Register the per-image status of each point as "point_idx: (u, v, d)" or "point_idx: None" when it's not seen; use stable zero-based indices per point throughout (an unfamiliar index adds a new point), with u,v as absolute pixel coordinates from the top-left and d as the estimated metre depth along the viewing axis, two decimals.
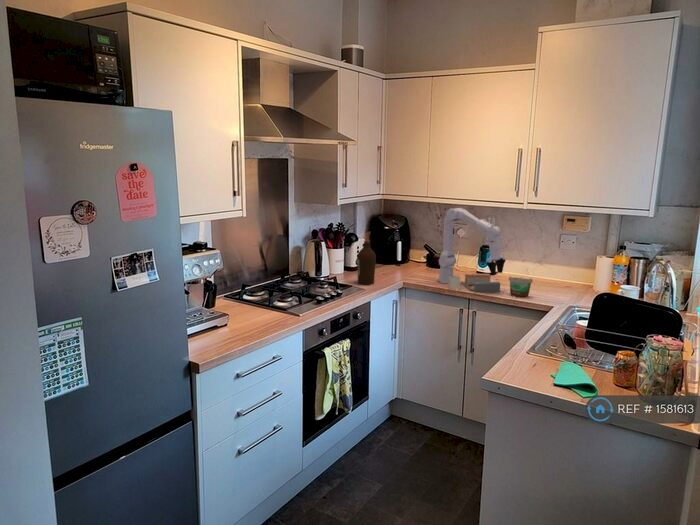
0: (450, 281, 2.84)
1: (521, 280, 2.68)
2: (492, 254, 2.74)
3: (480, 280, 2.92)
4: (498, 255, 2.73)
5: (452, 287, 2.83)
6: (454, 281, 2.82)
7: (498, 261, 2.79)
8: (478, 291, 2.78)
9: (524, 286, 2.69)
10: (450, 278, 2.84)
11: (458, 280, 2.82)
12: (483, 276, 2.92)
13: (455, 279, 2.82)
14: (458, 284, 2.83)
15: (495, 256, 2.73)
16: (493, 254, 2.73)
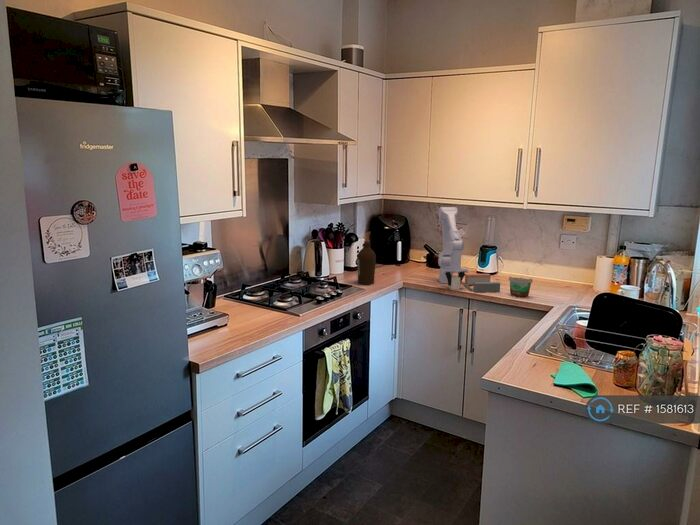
0: None
1: (521, 280, 2.68)
2: (450, 266, 2.83)
3: (480, 280, 2.92)
4: (454, 268, 2.81)
5: (452, 287, 2.83)
6: (454, 281, 2.82)
7: (459, 274, 2.85)
8: (478, 291, 2.78)
9: (524, 286, 2.69)
10: None
11: (458, 280, 2.82)
12: (483, 276, 2.92)
13: (455, 279, 2.82)
14: (458, 284, 2.83)
15: (451, 268, 2.82)
16: (450, 266, 2.82)
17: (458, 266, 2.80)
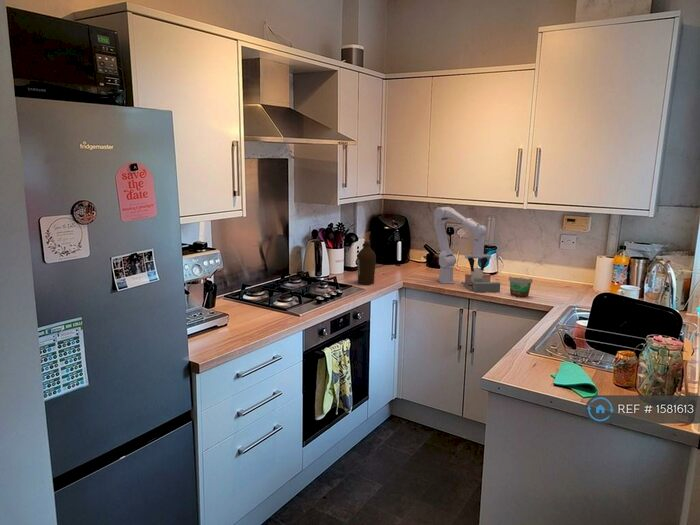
0: (473, 274, 2.84)
1: (521, 280, 2.68)
2: (473, 251, 2.83)
3: None
4: (477, 254, 2.80)
5: (475, 280, 2.83)
6: (477, 274, 2.82)
7: (482, 259, 2.84)
8: (478, 291, 2.78)
9: (524, 286, 2.69)
10: (473, 271, 2.84)
11: (481, 273, 2.82)
12: (483, 276, 2.92)
13: (478, 272, 2.82)
14: (480, 277, 2.83)
15: (474, 254, 2.81)
16: (473, 252, 2.82)
17: (481, 252, 2.80)
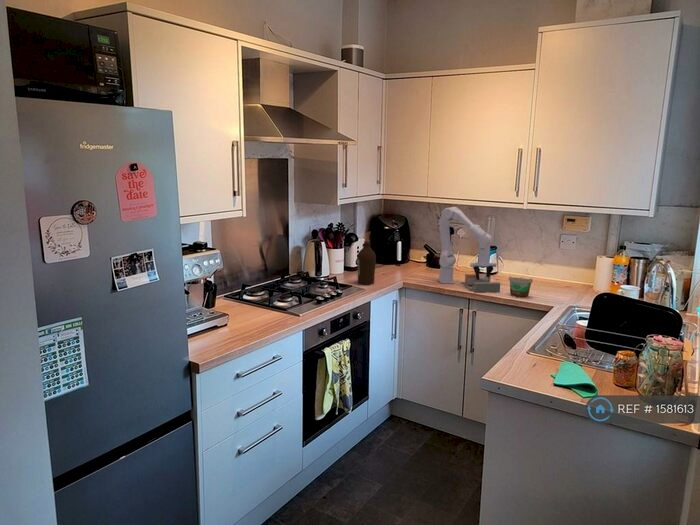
0: (478, 281, 2.86)
1: (521, 280, 2.68)
2: (478, 260, 2.84)
3: None
4: (482, 262, 2.82)
5: None
6: (482, 281, 2.84)
7: (487, 268, 2.86)
8: (478, 291, 2.78)
9: (524, 286, 2.69)
10: None
11: (486, 280, 2.84)
12: None
13: (483, 279, 2.84)
14: None
15: (480, 263, 2.83)
16: (479, 260, 2.83)
17: (487, 260, 2.81)
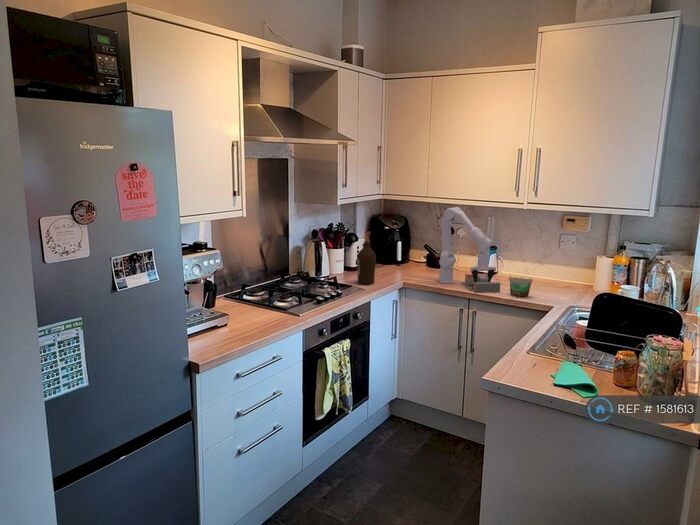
0: (478, 281, 2.86)
1: (521, 280, 2.68)
2: (478, 264, 2.84)
3: None
4: (482, 266, 2.82)
5: None
6: (482, 281, 2.84)
7: (488, 272, 2.86)
8: (478, 291, 2.78)
9: (524, 286, 2.69)
10: (478, 278, 2.86)
11: (486, 280, 2.84)
12: None
13: (483, 279, 2.84)
14: None
15: (479, 266, 2.83)
16: (478, 264, 2.84)
17: (486, 264, 2.82)
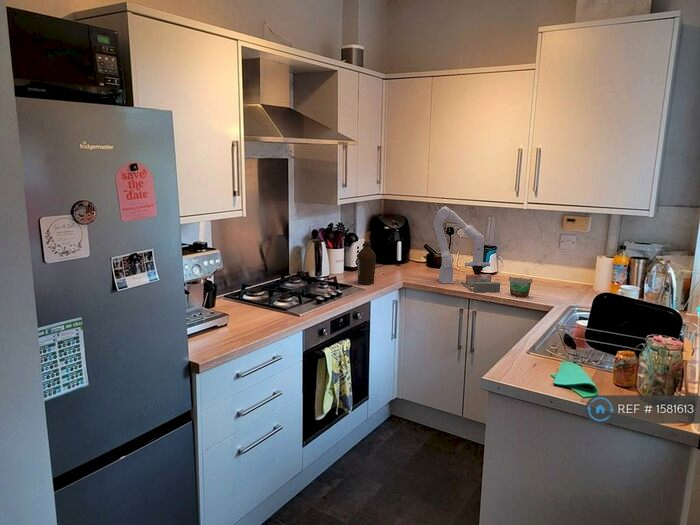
0: (478, 281, 2.86)
1: (521, 280, 2.68)
2: (473, 260, 2.93)
3: None
4: (477, 262, 2.91)
5: None
6: (482, 281, 2.84)
7: None
8: (478, 291, 2.78)
9: (524, 286, 2.69)
10: (478, 278, 2.86)
11: (486, 280, 2.84)
12: None
13: (483, 279, 2.84)
14: None
15: (474, 262, 2.92)
16: (473, 260, 2.93)
17: (481, 260, 2.91)
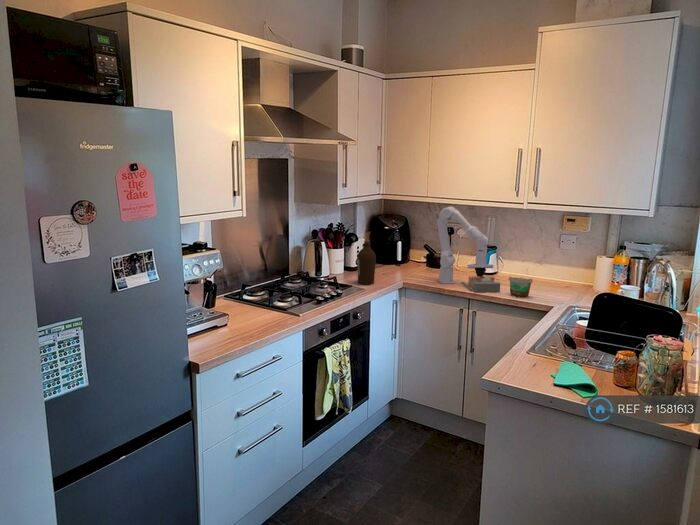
0: None
1: (521, 280, 2.68)
2: None
3: None
4: (480, 264, 2.86)
5: None
6: None
7: None
8: (478, 291, 2.78)
9: (524, 286, 2.69)
10: (480, 279, 2.83)
11: (488, 281, 2.81)
12: None
13: (485, 280, 2.81)
14: None
15: (477, 264, 2.87)
16: (476, 262, 2.88)
17: (484, 262, 2.86)
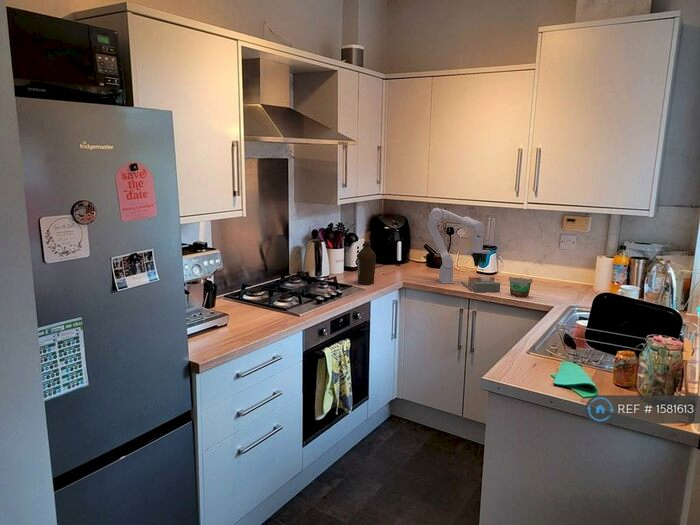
0: None
1: (521, 280, 2.68)
2: (472, 247, 2.94)
3: None
4: (476, 249, 2.91)
5: None
6: None
7: None
8: (478, 291, 2.78)
9: (524, 286, 2.69)
10: (480, 279, 2.83)
11: (488, 281, 2.81)
12: None
13: (485, 280, 2.81)
14: None
15: (473, 249, 2.92)
16: (473, 247, 2.93)
17: (480, 247, 2.91)
